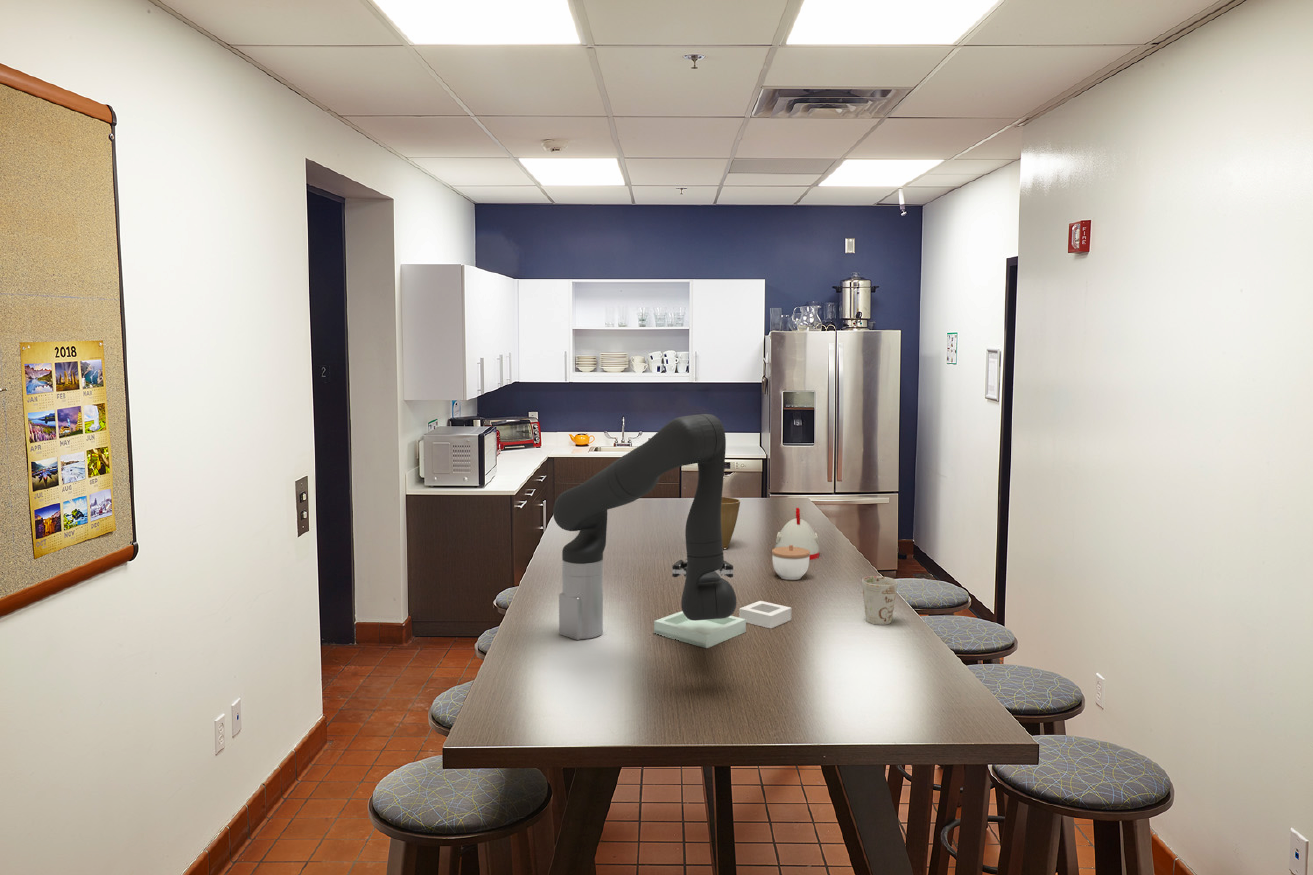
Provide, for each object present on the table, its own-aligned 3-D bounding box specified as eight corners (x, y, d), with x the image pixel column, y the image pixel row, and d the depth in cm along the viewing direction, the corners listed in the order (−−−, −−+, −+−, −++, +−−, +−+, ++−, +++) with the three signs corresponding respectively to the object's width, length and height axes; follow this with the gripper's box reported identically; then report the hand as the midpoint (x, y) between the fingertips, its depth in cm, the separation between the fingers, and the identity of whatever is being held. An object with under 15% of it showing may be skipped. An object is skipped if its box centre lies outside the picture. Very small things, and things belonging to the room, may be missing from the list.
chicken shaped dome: (817, 551, 287) (818, 505, 286) (820, 561, 273) (822, 513, 272) (774, 549, 288) (775, 504, 287) (775, 559, 275) (776, 512, 273)
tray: (706, 648, 193) (706, 634, 192) (654, 633, 202) (654, 620, 202) (745, 631, 204) (745, 619, 204) (694, 618, 214) (694, 606, 213)
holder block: (770, 628, 207) (771, 616, 206) (739, 620, 212) (739, 608, 212) (791, 619, 214) (791, 607, 213) (760, 612, 219) (760, 600, 219)
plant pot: (740, 553, 283) (741, 503, 281) (694, 552, 283) (695, 503, 281) (737, 543, 297) (738, 496, 296) (693, 542, 298) (694, 495, 296)
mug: (871, 627, 208) (873, 586, 207) (846, 612, 220) (847, 572, 219) (903, 625, 210) (904, 583, 209) (876, 609, 222) (877, 570, 221)
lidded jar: (766, 579, 251) (766, 546, 250) (779, 570, 261) (779, 539, 260) (802, 583, 246) (803, 550, 245) (814, 575, 256) (815, 543, 255)
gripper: (738, 562, 187) (731, 545, 204) (670, 562, 187) (669, 544, 204) (738, 597, 187) (731, 577, 205) (670, 596, 188) (669, 576, 205)
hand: (700, 561), depth 204 cm, fingers closed on dowel, 4 cm apart
